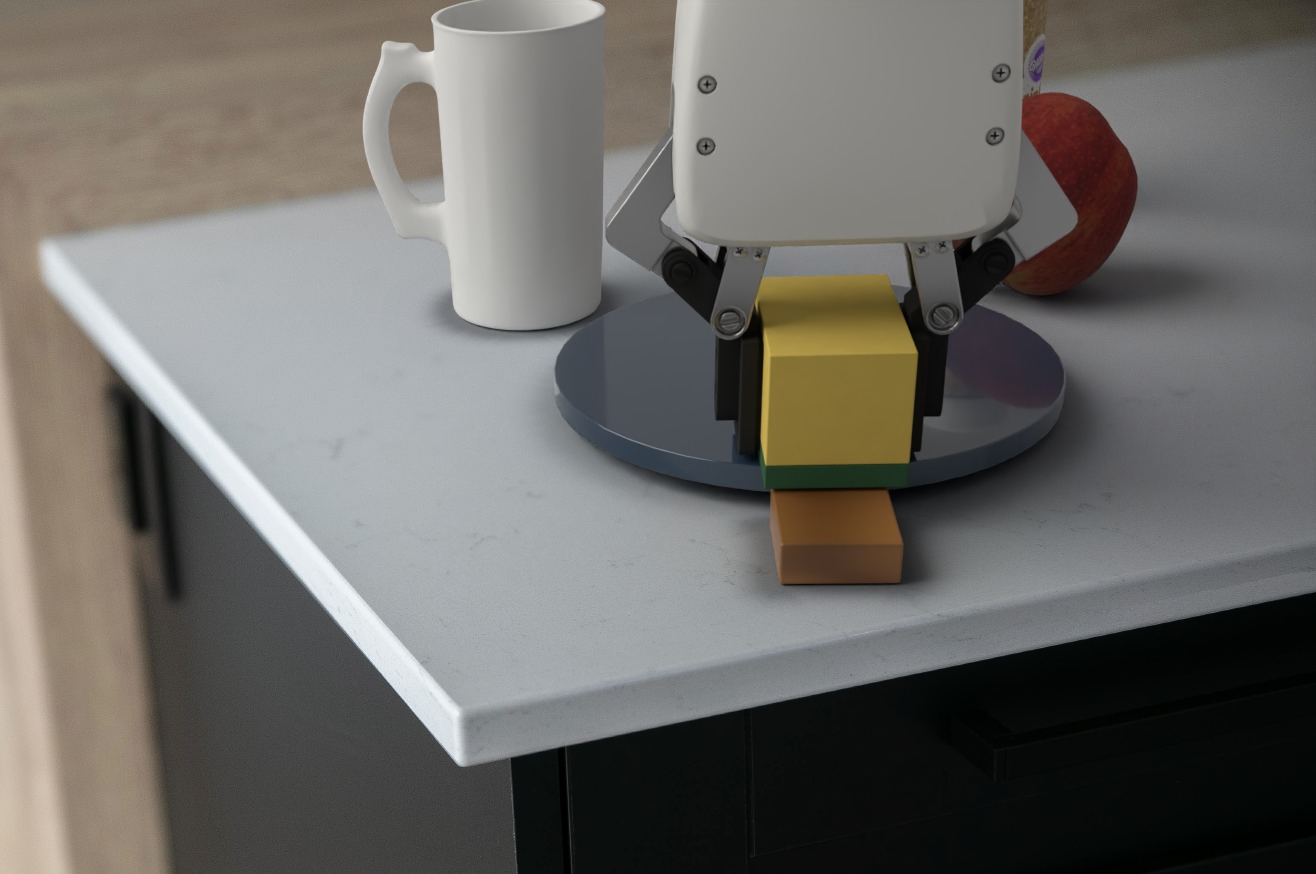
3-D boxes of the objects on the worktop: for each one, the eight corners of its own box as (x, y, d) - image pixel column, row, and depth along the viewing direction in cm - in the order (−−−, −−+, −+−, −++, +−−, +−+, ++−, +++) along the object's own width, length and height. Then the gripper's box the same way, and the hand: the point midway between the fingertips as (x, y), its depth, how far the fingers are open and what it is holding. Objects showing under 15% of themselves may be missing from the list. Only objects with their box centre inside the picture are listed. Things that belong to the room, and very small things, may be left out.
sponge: (748, 401, 65) (753, 277, 62) (878, 398, 64) (887, 273, 62) (764, 489, 58) (769, 355, 56) (907, 487, 58) (918, 352, 56)
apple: (1143, 321, 73) (1173, 116, 69) (938, 324, 74) (955, 123, 70) (1104, 258, 79) (1129, 67, 75) (916, 262, 80) (931, 74, 76)
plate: (1008, 308, 75) (1012, 272, 74) (1115, 507, 59) (1121, 464, 58) (559, 319, 77) (558, 284, 76) (548, 514, 61) (547, 473, 61)
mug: (621, 281, 80) (619, -6, 74) (591, 337, 75) (587, 32, 69) (397, 273, 83) (379, -5, 77) (353, 327, 77) (329, 32, 72)
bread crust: (884, 524, 59) (887, 484, 59) (900, 584, 56) (904, 542, 55) (769, 525, 60) (770, 485, 59) (778, 585, 56) (780, 544, 56)
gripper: (1136, -192, 54) (1065, 387, 63) (557, -161, 56) (568, 397, 65) (1208, -157, 48) (1117, 483, 57) (552, -123, 50) (564, 491, 59)
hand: (824, 431), depth 61 cm, fingers closed on sponge, 4 cm apart
